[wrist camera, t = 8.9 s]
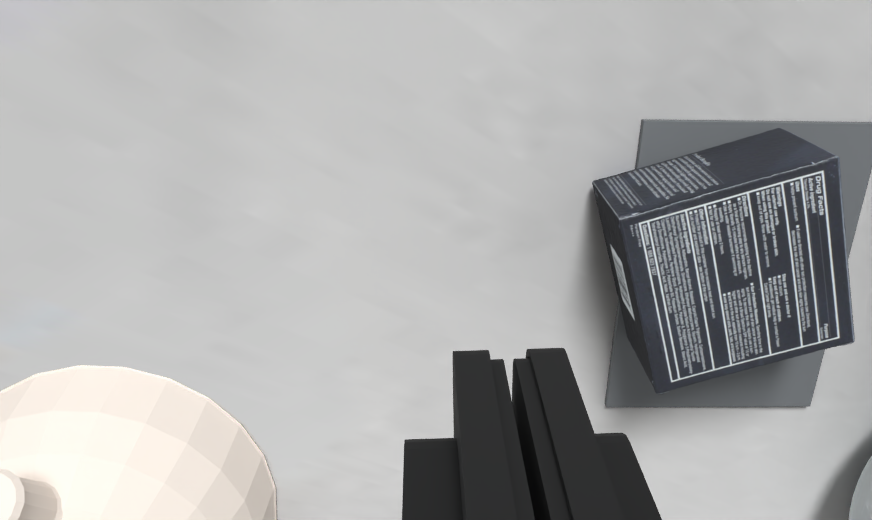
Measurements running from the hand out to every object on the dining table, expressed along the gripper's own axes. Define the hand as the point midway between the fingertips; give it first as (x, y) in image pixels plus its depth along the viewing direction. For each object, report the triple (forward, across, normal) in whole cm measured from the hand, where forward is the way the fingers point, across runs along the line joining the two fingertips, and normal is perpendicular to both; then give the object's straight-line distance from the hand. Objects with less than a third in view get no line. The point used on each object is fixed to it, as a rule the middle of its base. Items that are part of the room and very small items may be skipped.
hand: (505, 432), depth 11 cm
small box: (+26, -9, +11) cm, 30 cm away
